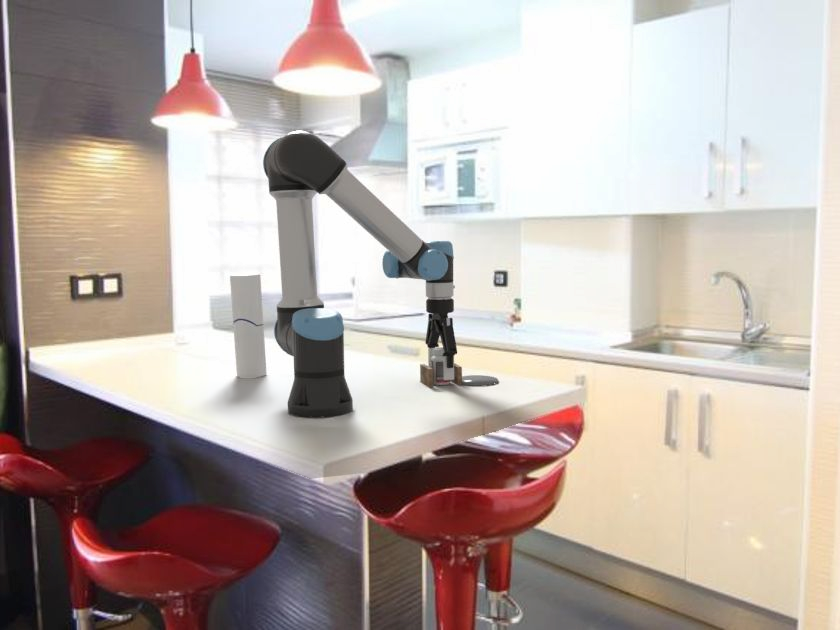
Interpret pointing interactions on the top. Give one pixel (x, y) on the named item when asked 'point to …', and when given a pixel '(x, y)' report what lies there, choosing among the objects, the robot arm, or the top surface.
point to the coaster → (478, 380)
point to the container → (248, 325)
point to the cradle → (427, 375)
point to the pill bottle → (438, 367)
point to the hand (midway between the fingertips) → (440, 375)
